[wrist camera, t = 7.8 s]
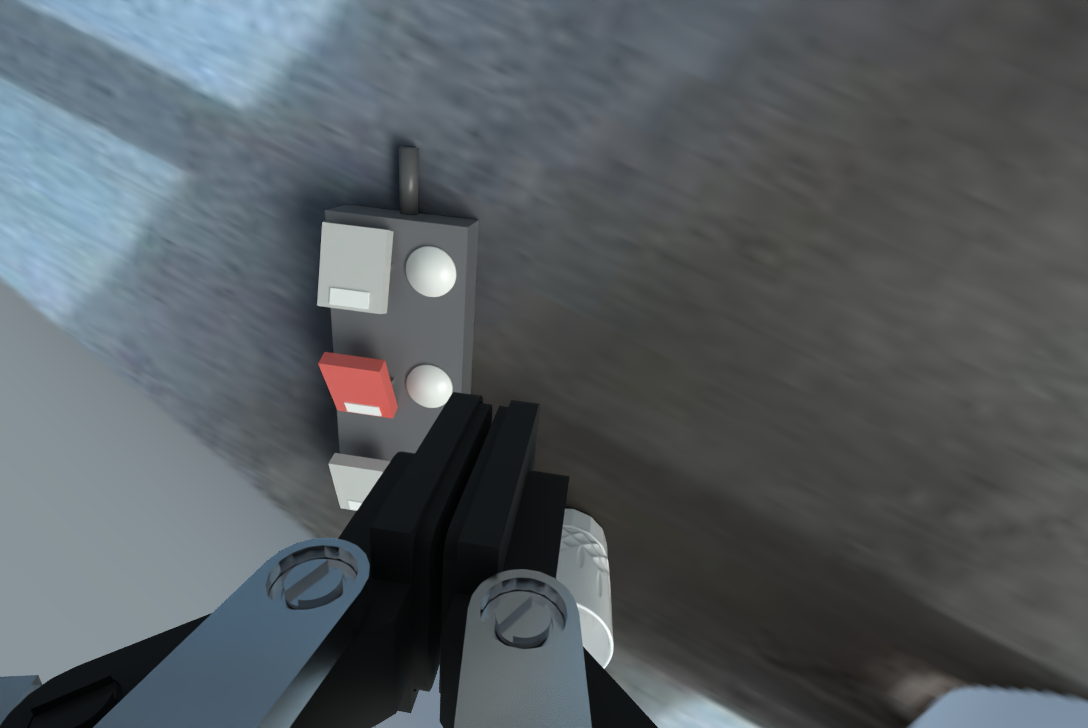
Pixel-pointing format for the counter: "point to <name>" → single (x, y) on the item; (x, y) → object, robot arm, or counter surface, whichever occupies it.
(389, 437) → the power strip
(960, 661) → the counter surface
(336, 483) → the rocker outlet
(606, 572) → the white cup
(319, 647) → the robot arm
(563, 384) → the counter surface
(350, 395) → the outlet rocker
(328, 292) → the outlet rocker
